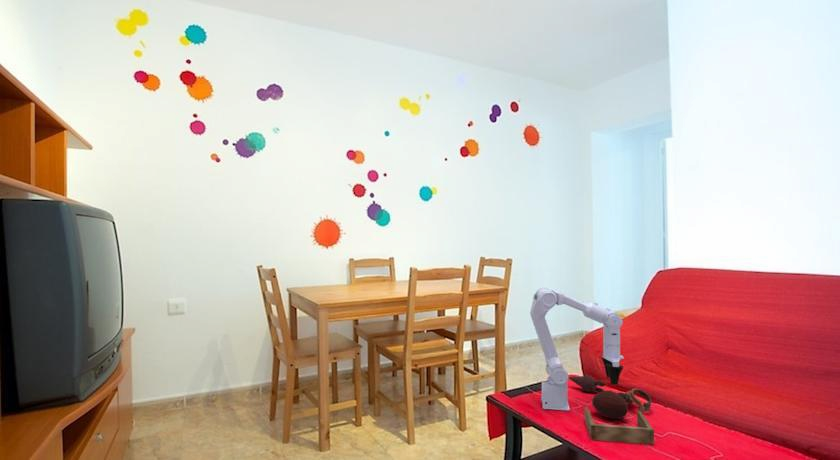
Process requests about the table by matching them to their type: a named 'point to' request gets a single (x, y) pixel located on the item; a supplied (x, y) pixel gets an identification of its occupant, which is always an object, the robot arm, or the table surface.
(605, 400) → the potato
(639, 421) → the box
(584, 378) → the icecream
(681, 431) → the table surface
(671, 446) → the table surface
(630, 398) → the brown looped piece
